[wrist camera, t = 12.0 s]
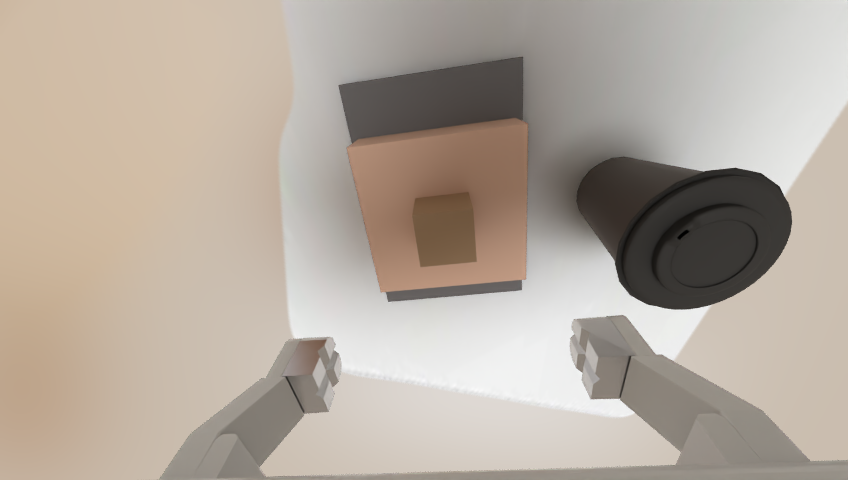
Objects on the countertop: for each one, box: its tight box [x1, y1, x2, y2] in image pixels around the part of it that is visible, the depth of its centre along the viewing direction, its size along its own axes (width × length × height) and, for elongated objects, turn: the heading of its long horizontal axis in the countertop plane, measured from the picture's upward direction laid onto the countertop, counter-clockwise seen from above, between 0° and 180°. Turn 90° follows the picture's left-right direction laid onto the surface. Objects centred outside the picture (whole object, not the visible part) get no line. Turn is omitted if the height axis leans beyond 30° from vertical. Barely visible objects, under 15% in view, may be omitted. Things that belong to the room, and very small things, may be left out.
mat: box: [339, 57, 523, 302], centre depth 25 cm, size 18×12×1 cm, turn 8°
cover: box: [347, 118, 528, 292], centre depth 21 cm, size 11×11×6 cm
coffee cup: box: [577, 157, 792, 309], centre depth 20 cm, size 8×8×10 cm
